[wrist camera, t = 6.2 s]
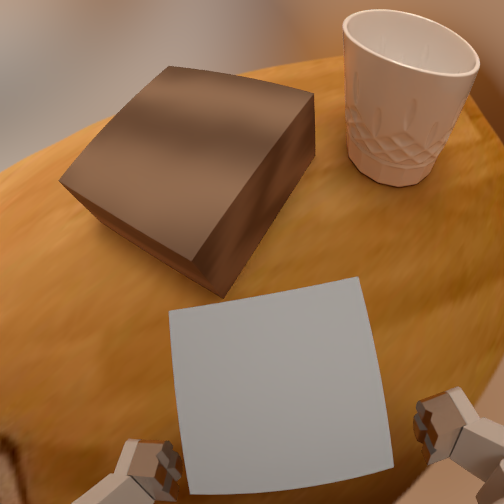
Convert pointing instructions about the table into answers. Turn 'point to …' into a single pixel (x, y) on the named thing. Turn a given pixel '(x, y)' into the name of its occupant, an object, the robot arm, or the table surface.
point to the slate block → (279, 391)
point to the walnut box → (198, 168)
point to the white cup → (402, 92)
